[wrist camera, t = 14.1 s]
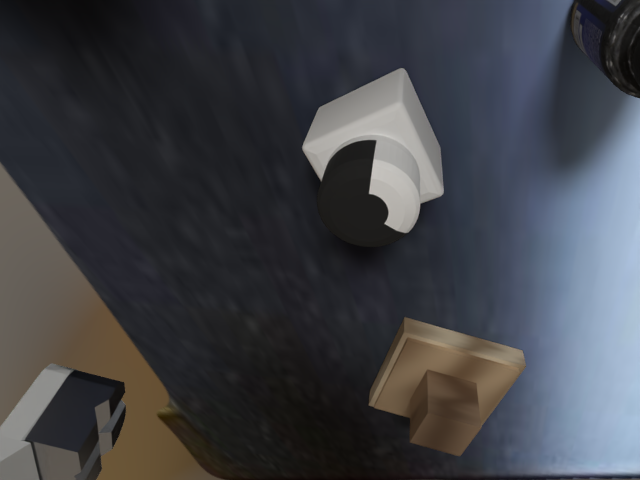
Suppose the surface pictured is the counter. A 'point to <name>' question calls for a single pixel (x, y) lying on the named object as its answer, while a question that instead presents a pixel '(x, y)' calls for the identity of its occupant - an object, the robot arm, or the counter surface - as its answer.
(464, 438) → the cube
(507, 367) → the square wooden base
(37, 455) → the robot arm
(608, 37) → the pill bottle
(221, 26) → the counter surface
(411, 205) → the medicine bottle
